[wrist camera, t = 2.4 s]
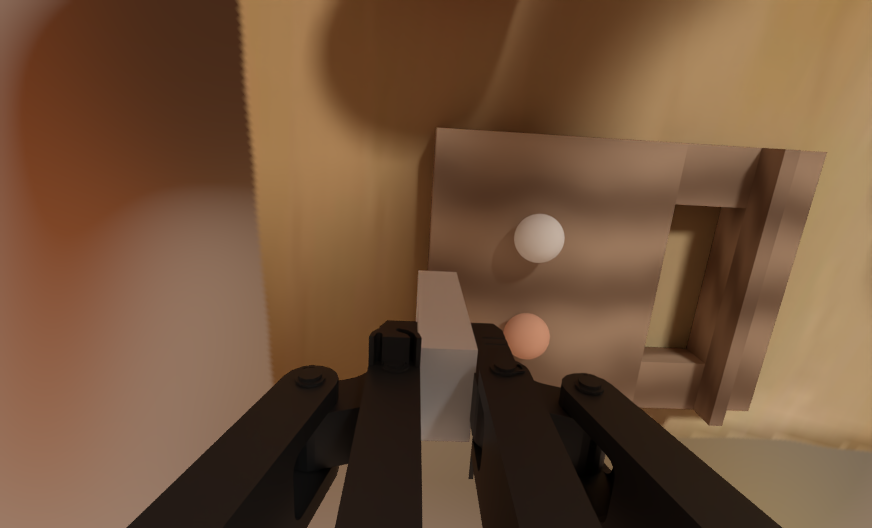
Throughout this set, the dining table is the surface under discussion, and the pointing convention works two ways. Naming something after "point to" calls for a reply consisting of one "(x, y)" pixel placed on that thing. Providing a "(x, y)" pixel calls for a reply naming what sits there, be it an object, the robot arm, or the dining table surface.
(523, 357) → the ball terracotta
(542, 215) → the ball white
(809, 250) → the dining table surface
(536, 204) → the board
